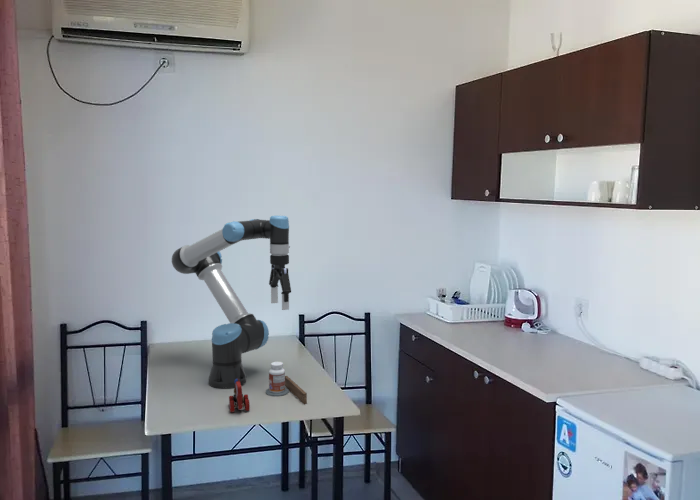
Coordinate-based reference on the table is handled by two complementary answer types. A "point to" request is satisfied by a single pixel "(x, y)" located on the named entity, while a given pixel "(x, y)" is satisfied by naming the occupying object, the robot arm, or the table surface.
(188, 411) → the table surface
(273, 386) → the pill bottle
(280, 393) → the slate pad
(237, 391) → the toy fire truck
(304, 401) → the divider rail
